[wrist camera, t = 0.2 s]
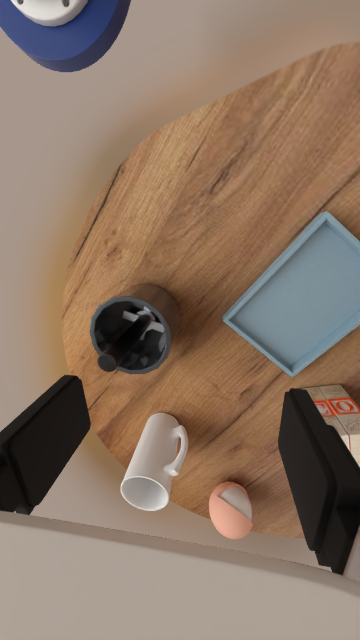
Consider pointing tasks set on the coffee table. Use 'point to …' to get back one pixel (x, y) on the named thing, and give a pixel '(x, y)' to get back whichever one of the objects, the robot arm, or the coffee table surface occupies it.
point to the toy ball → (231, 510)
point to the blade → (129, 338)
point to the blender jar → (112, 325)
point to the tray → (303, 297)
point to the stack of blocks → (339, 414)
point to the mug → (155, 463)
